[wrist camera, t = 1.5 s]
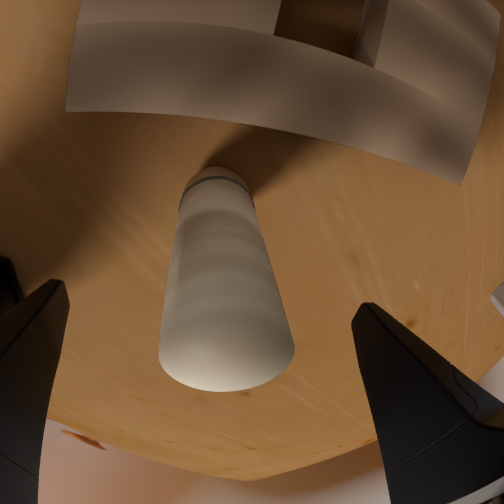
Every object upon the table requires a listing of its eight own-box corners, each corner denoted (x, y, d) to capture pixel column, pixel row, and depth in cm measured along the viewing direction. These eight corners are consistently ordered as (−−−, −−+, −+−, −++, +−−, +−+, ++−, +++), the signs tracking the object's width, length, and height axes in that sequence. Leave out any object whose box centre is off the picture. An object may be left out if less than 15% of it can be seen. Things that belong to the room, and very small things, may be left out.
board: (435, 169, 15) (460, 185, 13) (87, 104, 11) (65, 112, 9) (473, 12, 9) (500, 14, 7) (139, -94, 5) (129, -114, 3)
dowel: (241, 222, 16) (276, 391, 8) (180, 215, 15) (159, 388, 7) (253, 164, 14) (316, 314, 6) (187, 156, 13) (153, 304, 5)
